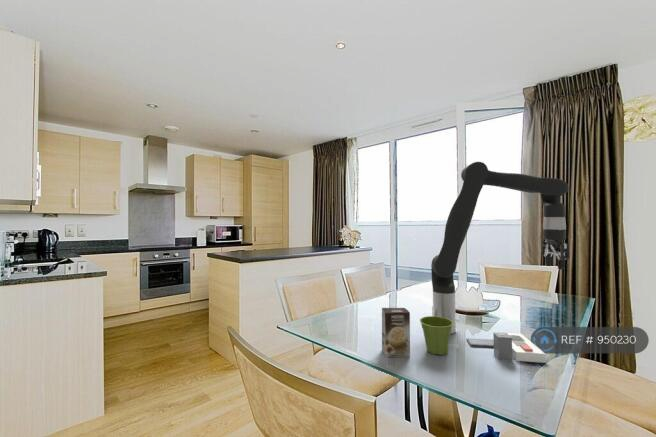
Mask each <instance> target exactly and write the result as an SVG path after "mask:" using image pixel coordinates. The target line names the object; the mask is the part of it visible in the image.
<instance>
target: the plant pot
mask: <svg viewBox="0 0 656 437" xmlns="http://www.w3.org/2000/svg"><path fill="white" fill-rule="evenodd" d="M419 322H420V325H421V328H422V332H423V336H424V340H425V341H424V342H425V347H426V351H427V352H428V353H430V354H432V355H439V356H442V355H443V356H444V355H446V354H448V349H449V341H450V336H451V334H450V331H451V326H452V325H453V321H451V320H450V319H447V318H444V317H438V316H432V315H430V316H429V315H428V316H423V317H421V318H420V319H419Z"/></svg>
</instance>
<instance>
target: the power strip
mask: <svg viewBox="0 0 656 437" xmlns="http://www.w3.org/2000/svg"><path fill="white" fill-rule="evenodd" d="M506 333H507V334H508V335H509V336H511V337H512V359H514V360H515V361H516V362H530V363H544V364H546V353H545V352H544V351H543V350H541V349H540V347H538V346H536V344H534V343H533V342H532V341H531V340H529V339H528V338H527V337H526V336H525V335H523V333H511V332H506Z"/></svg>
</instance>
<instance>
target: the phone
mask: <svg viewBox="0 0 656 437" xmlns="http://www.w3.org/2000/svg"><path fill="white" fill-rule="evenodd" d="M466 342H467V343H468V345H469V347H471V348H472V347H474V348H488V349H489V348H490V349H494V339H487V338H486V339H485V338H468V337H467V338H466Z"/></svg>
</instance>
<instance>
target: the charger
mask: <svg viewBox="0 0 656 437" xmlns="http://www.w3.org/2000/svg"><path fill="white" fill-rule="evenodd" d="M507 333H508V332H498V331H497V332H495V331H493V333H492V334H493V340H494V348H493V355H494V356H495V358H496V359H497V360H498V361H506V362H513V357H512V337H511V336H509V335H508V334H507Z"/></svg>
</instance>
